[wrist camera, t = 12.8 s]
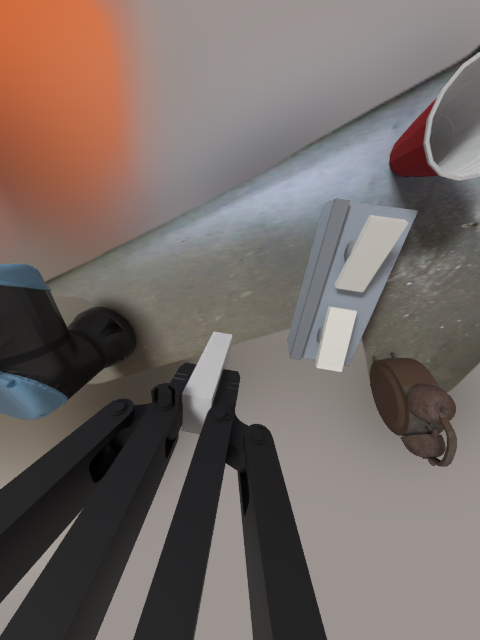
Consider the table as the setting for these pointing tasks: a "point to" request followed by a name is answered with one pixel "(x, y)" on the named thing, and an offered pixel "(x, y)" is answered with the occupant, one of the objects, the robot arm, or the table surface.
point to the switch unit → (324, 268)
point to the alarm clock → (414, 407)
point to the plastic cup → (445, 132)
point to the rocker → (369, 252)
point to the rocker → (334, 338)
